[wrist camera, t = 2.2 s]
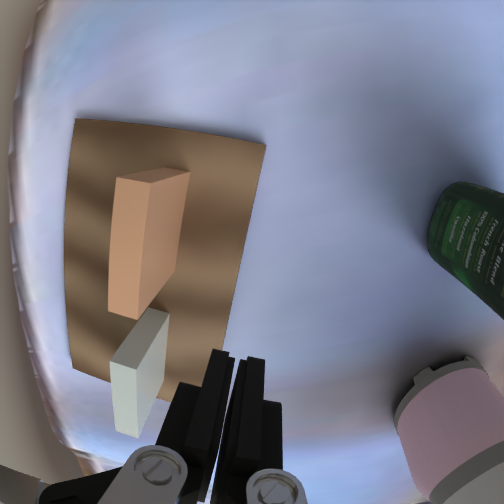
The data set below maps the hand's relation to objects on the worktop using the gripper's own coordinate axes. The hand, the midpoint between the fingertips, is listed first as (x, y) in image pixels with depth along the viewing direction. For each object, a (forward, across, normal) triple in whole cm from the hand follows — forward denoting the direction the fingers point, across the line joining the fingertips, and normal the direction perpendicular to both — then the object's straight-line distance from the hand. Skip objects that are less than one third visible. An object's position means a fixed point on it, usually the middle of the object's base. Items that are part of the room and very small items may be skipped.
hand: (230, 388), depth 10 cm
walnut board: (+16, +9, +5) cm, 19 cm away
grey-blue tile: (+16, +7, +11) cm, 20 cm away
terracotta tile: (+15, +7, -1) cm, 17 cm away
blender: (+17, -25, +14) cm, 33 cm away
